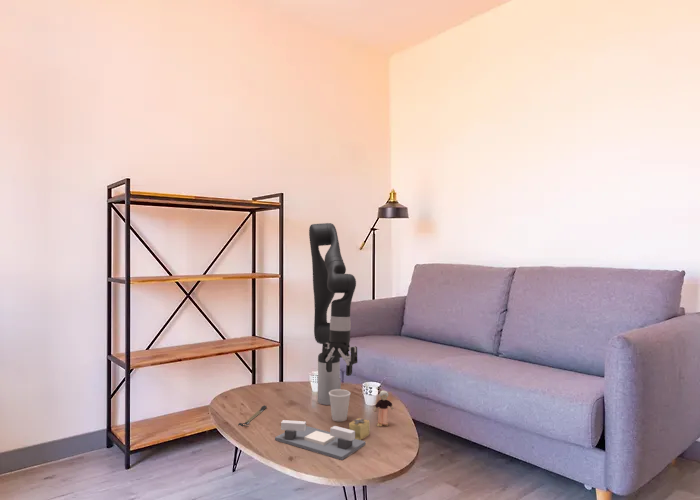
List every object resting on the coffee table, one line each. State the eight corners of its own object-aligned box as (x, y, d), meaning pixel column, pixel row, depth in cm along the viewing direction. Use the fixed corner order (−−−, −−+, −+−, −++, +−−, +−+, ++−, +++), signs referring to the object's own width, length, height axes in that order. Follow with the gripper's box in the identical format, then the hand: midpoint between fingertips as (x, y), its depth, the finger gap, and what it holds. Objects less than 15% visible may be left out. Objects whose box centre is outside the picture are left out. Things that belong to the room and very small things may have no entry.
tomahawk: (254, 430, 169) (254, 427, 169) (237, 427, 170) (237, 424, 170) (277, 410, 189) (277, 407, 189) (262, 407, 191) (262, 404, 191)
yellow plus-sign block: (358, 432, 166) (358, 417, 166) (369, 435, 163) (369, 419, 163) (349, 437, 161) (349, 422, 161) (360, 440, 158) (360, 425, 158)
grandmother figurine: (377, 428, 169) (377, 393, 169) (372, 424, 173) (372, 390, 173) (395, 424, 173) (395, 390, 173) (389, 421, 176) (390, 387, 176)
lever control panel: (275, 440, 158) (275, 421, 158) (301, 427, 169) (301, 410, 169) (341, 460, 143) (342, 439, 143) (365, 444, 155) (365, 425, 155)
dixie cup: (325, 416, 181) (326, 390, 181) (346, 414, 184) (346, 388, 184) (331, 423, 173) (332, 396, 173) (353, 421, 176) (353, 394, 176)
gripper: (362, 329, 170) (360, 374, 169) (330, 326, 178) (329, 369, 177) (350, 331, 164) (349, 378, 163) (318, 327, 172) (316, 372, 171)
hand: (338, 373), depth 170 cm, fingers open, 8 cm apart
